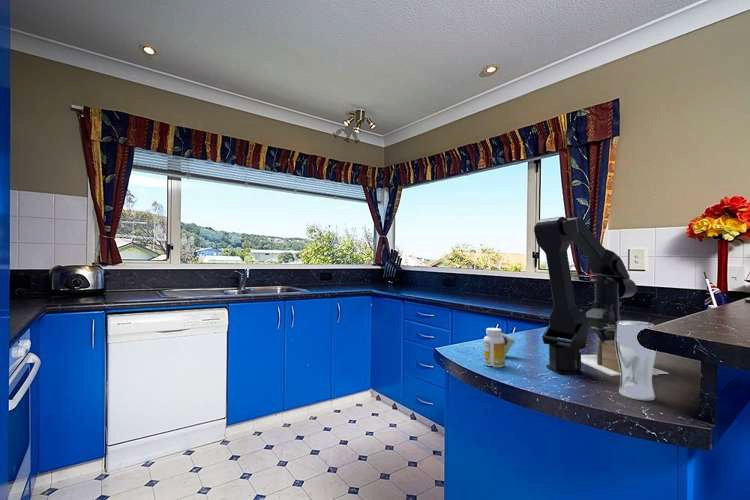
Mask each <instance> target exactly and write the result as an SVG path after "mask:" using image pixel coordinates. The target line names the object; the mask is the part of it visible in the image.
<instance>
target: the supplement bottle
mask: <svg viewBox="0 0 750 500" xmlns="http://www.w3.org/2000/svg"><path fill="white" fill-rule="evenodd" d="M485 330H486V331H485V332H486V335H485V336H484V337H483V363H485V364H486V365H489V366H493V367H492V368H503V366H504V367H505V366H506V355H505V342H504V339H503V338H502V337H501V335H502V333H503V332H502V329H501V328H497V327H487V328H486V329H485ZM485 364H484V365H485ZM486 365H485V366H486ZM489 366H488V367H489Z"/></svg>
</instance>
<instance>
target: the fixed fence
mask: <svg viewBox="0 0 750 500" xmlns="http://www.w3.org/2000/svg"><path fill="white" fill-rule="evenodd" d="M596 355H597V364H598V365H601V366H603V367H606V368H608V369H611V370H613V371H615V372H618V373H620V368H619V363H618V359H617V355H616V349H615V346H612V345H609V344H606V343H605V342H604V341H600V340H596Z"/></svg>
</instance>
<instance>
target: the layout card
mask: <svg viewBox="0 0 750 500" xmlns="http://www.w3.org/2000/svg"><path fill="white" fill-rule="evenodd" d="M581 364H584V365H586V366H589V367H591V368H593V369H596V370H597V371H600V372H602V373H605V374H607V375H609V376H612V377H621V374H620V373H618V372H615V371H613V370H611V369H608V368H606V367H603V366H601V365H598V364H597V354H581ZM658 374H669V375H670V373H669V372H667V371H664V370H661V369H658V368H655V367H654V368H653V373H652V376H659V375H658Z"/></svg>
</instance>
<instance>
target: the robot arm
mask: <svg viewBox="0 0 750 500" xmlns="http://www.w3.org/2000/svg"><path fill="white" fill-rule="evenodd" d="M533 233H534V236H535V240H536V244H537V245H538V247H540V249H541V250H542V251H543V252H544V253H545V258H546V263H547V264H546V265H547V271H548V276H549V283H550V288H551V295H552V302H553V308H552V311H551V313H550V315H549V321H548V322H549V324H548V325H547V328H546V330H545V331H544V333H543V334H542V336H541V339H542V342H543V344H545V345H548V354H549V355H548V359H549V361H548V363H549V364H546V365H545V367H546V368H547V369H550V370H552V372H553V371H554V373H558V374H560V375H563V374H565V375H566V374H567V375H571V374H572V375H574V374H575V375H576V374H577V375H578V374H584V373H585V371H584V370H582V362H581V355H582V353H581V352H580V350H584V349H586V346H587V340H588V336H589V329H590V331H592V332H594V333H595V334H596V335H597V337H598V338H599V341H609V340H615V324H616V323H615V322H616V321H622V317H620V307H622V302H620V299H623V298H630V297H633V296H635V294H636V293H637V290H638V286H637V285H636V283H635V281H633V279H631V277H630V275H629V271H628V270H627V267H626V266H625V264H624V261H623V260H622V258H621V257H620V256H619V255H618V254H617V253H615V252H614V251H612V250H609V249H607V248H605V247H604V245H602V243H601V242H600V241H599V240H598V238H597V237H596V236H595V235H594V233H593V232H592V230H591V229H589V228H588V226H587V224H586V221H585V219H584V218H583V217H579V216H578V217H569V218H567V217H565V216H556V217H551V218H550V217H549V218H542V219H539V220H538V221H537V222H536V224H535V225H534V227H533ZM571 242H573V243H574V245H576V247H577V248H578V249H579V250H580V251H581V252H582V254H583V255H584V256H585V257H586V259H587V262H586V265H587V267H588V269H589V270H590V272H591V274H593V275H594V276H595V277H594V278H593V279H592V280H590V283H591V284H594V301H593V302H592V304H591V309H588V311H586V310H584V309H580V308H578V307H577V305H576V300H575V293H574V287H573V281H572V276H571V275H572V274H571V267H570V262H569V256H568V255H569V254H568V249H569V247H570V246H571ZM588 327H589V328H588Z"/></svg>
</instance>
